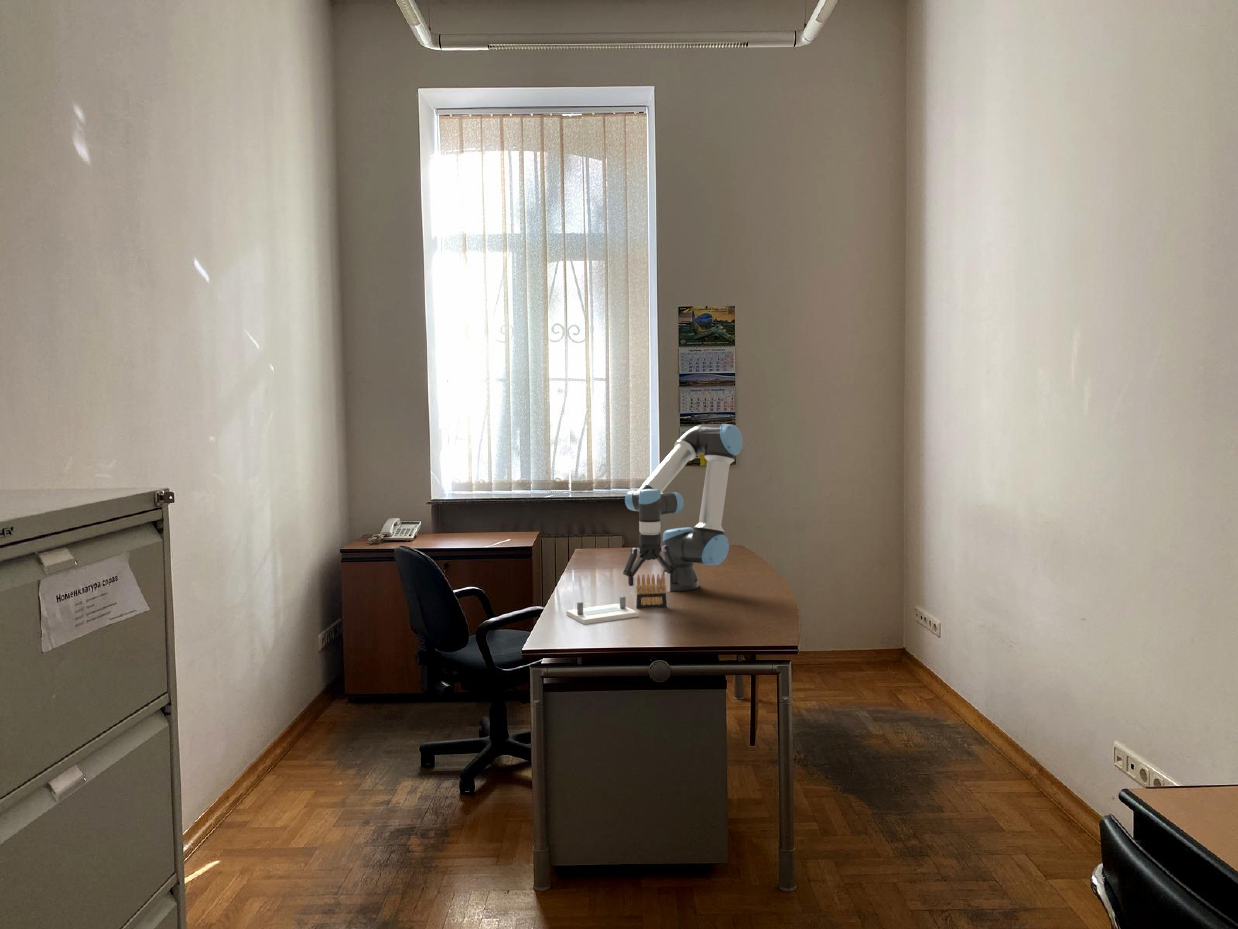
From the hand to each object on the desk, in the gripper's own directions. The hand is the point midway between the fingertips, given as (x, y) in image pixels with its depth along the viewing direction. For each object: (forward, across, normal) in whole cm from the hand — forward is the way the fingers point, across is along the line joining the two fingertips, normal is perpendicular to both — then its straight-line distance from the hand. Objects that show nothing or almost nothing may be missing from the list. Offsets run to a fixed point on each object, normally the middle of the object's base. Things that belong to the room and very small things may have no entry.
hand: (650, 593), depth 303 cm
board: (+6, +20, +1) cm, 20 cm away
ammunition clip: (+5, 0, 0) cm, 5 cm away
